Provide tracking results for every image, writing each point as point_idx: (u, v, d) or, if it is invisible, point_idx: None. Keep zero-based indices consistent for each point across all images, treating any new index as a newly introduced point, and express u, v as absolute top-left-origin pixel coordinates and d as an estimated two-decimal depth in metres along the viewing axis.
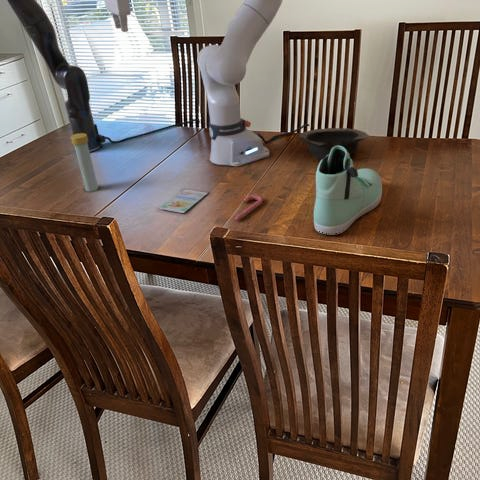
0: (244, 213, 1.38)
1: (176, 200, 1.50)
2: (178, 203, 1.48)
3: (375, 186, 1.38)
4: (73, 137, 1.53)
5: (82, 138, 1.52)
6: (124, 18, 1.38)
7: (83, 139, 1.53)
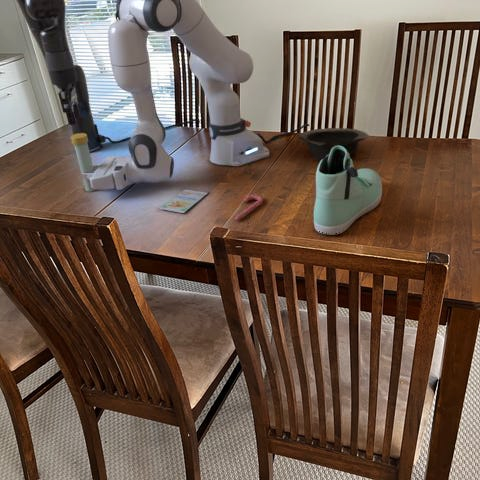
0: (244, 213, 1.38)
1: (176, 200, 1.50)
2: (178, 203, 1.48)
3: (375, 186, 1.38)
4: (73, 137, 1.53)
5: (82, 138, 1.52)
6: None
7: (83, 139, 1.53)
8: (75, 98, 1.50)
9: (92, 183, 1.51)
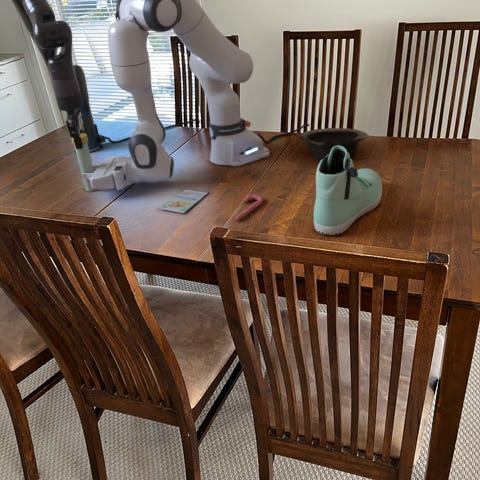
0: (244, 213, 1.38)
1: (176, 200, 1.50)
2: (178, 203, 1.48)
3: (375, 186, 1.38)
4: None
5: (82, 138, 1.52)
6: None
7: (83, 139, 1.53)
8: (81, 123, 1.54)
9: (92, 183, 1.51)
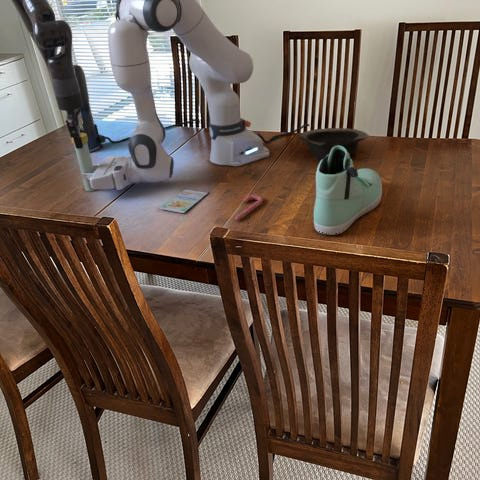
0: (244, 213, 1.38)
1: (176, 200, 1.50)
2: (178, 203, 1.48)
3: (375, 186, 1.38)
4: (81, 136, 1.53)
5: None
6: None
7: None
8: (81, 123, 1.54)
9: (92, 183, 1.52)
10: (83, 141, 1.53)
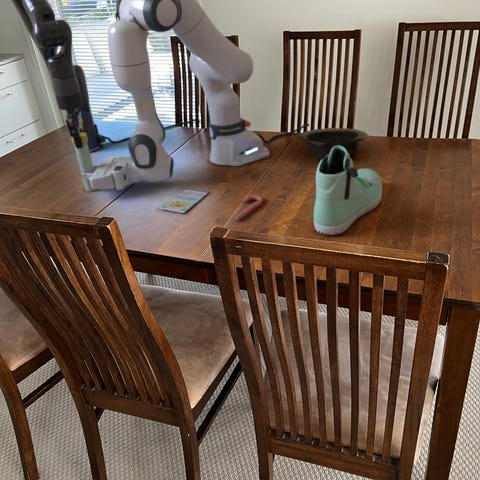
0: (244, 213, 1.38)
1: (176, 200, 1.50)
2: (178, 203, 1.48)
3: (375, 186, 1.38)
4: (83, 133, 1.55)
5: None
6: None
7: None
8: (81, 123, 1.54)
9: (92, 183, 1.51)
10: None
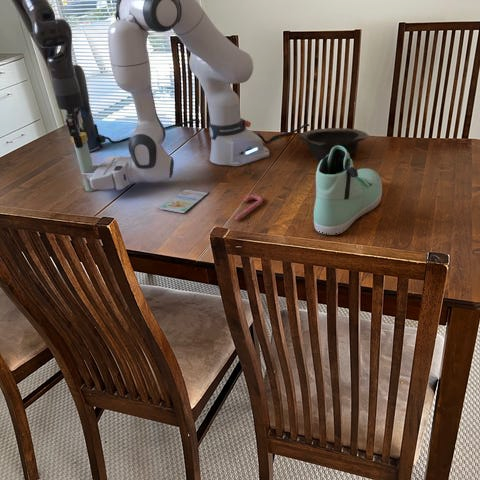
0: (244, 213, 1.38)
1: (176, 200, 1.50)
2: (178, 203, 1.48)
3: (375, 186, 1.38)
4: None
5: (71, 137, 1.52)
6: None
7: (72, 139, 1.52)
8: (80, 122, 1.54)
9: (92, 183, 1.51)
10: None
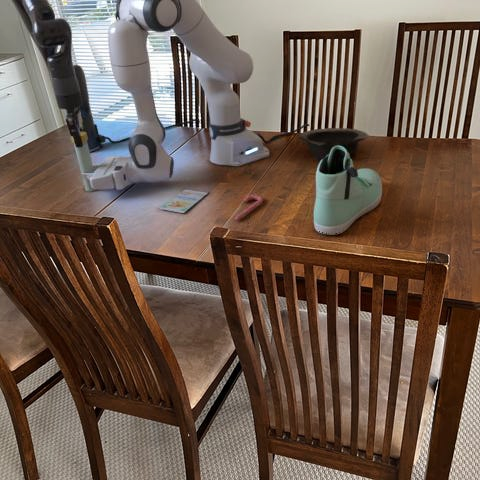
0: (244, 213, 1.38)
1: (176, 200, 1.50)
2: (178, 203, 1.48)
3: (375, 186, 1.38)
4: None
5: (83, 136, 1.52)
6: None
7: (84, 137, 1.53)
8: (80, 122, 1.54)
9: (92, 183, 1.52)
10: (72, 141, 1.53)
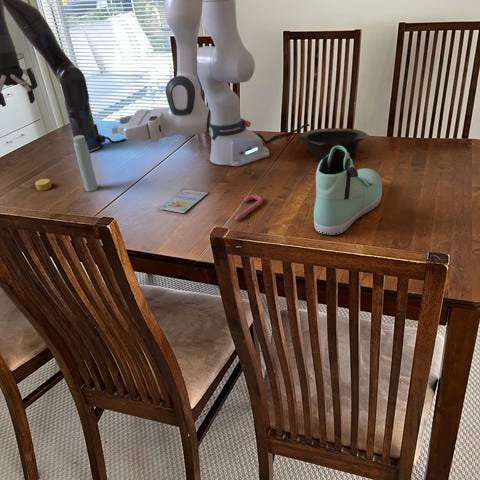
0: (244, 213, 1.38)
1: (176, 200, 1.50)
2: (178, 203, 1.48)
3: (375, 186, 1.38)
4: (45, 182, 1.65)
5: None
6: None
7: None
8: None
9: (126, 134, 1.43)
10: (47, 187, 1.66)
